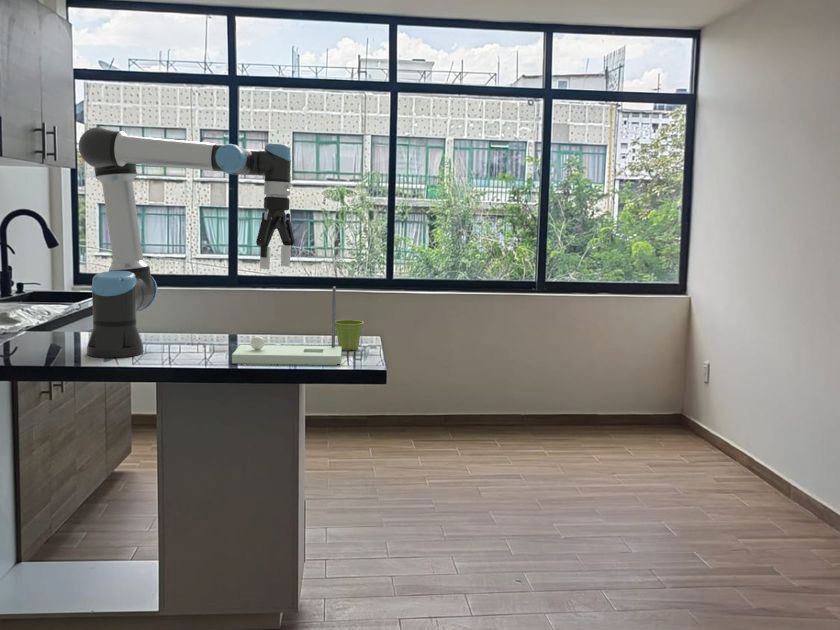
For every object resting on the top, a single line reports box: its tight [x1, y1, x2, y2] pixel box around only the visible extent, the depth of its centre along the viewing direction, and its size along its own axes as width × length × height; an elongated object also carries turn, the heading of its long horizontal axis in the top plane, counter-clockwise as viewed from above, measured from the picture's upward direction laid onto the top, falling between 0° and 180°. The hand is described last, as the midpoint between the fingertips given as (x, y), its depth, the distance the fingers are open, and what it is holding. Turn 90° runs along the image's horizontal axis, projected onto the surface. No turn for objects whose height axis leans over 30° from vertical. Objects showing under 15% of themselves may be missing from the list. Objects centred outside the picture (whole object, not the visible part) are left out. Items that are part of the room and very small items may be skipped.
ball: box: [250, 335, 266, 350], centre depth 220 cm, size 4×4×4 cm
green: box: [231, 286, 343, 366], centre depth 222 cm, size 30×20×20 cm, turn 95°
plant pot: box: [335, 319, 364, 351], centre depth 240 cm, size 9×9×9 cm
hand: (275, 267), depth 231 cm, fingers open, 13 cm apart
